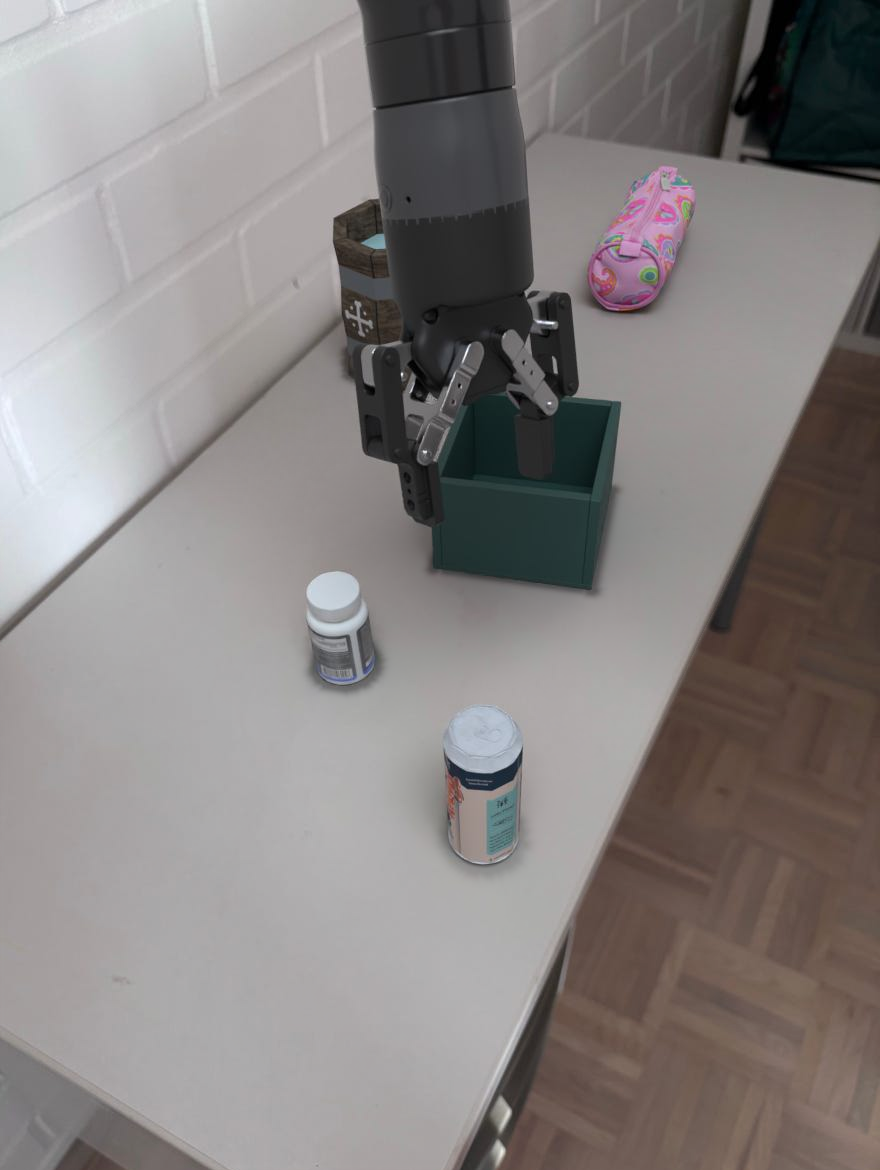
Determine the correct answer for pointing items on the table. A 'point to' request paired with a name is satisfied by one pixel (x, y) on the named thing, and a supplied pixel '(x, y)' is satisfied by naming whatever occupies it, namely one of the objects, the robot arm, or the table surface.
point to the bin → (526, 494)
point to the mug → (365, 280)
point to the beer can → (483, 783)
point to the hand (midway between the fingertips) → (484, 498)
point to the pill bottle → (339, 628)
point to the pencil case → (642, 241)
